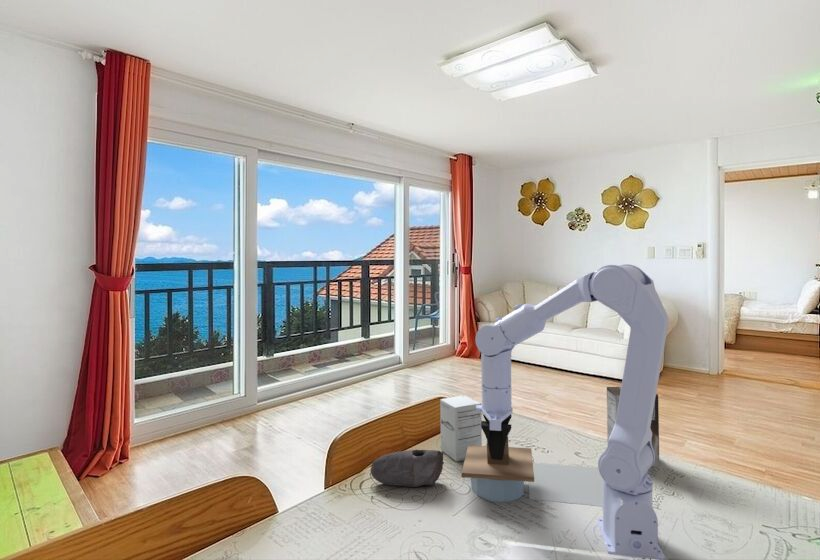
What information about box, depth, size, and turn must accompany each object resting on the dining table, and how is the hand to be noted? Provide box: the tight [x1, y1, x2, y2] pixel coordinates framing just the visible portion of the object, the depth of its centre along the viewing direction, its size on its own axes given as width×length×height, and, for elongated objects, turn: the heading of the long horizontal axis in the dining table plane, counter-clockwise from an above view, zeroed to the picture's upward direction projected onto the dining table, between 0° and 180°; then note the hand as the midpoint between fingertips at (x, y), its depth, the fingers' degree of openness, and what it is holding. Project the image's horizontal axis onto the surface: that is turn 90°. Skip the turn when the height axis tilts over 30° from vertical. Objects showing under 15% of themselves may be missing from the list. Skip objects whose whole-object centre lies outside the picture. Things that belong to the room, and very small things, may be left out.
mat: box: [527, 462, 603, 507], centre depth 89 cm, size 16×16×1 cm
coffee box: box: [606, 386, 660, 467], centre depth 99 cm, size 9×6×16 cm
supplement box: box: [439, 395, 483, 463], centre depth 105 cm, size 7×7×13 cm
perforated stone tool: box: [370, 449, 445, 488], centre depth 90 cm, size 15×5×7 cm, turn 84°
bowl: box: [470, 478, 525, 503], centre depth 87 cm, size 10×10×4 cm
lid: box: [461, 435, 534, 483], centre depth 87 cm, size 13×13×5 cm
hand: (497, 453), depth 87 cm, fingers closed on lid, 4 cm apart
